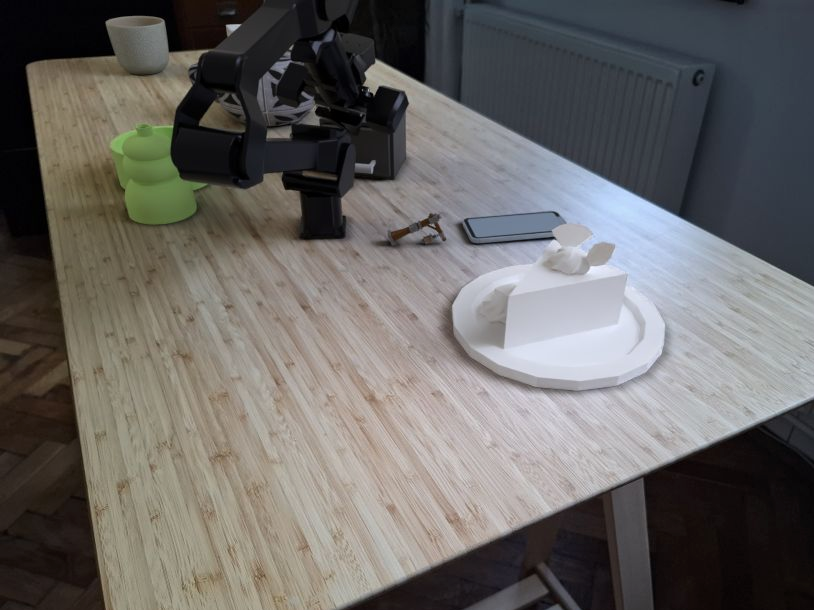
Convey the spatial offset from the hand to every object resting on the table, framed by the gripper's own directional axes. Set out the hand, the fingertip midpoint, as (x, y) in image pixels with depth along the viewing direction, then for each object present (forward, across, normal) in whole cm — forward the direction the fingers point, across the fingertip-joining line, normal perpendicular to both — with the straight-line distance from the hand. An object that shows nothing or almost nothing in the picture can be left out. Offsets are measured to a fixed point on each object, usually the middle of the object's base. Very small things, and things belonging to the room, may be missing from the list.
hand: (356, 133), depth 105 cm
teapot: (+25, +32, -13) cm, 43 cm away
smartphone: (+4, -28, +6) cm, 29 cm away
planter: (+38, +78, -22) cm, 89 cm away
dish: (-10, -40, +23) cm, 47 cm away
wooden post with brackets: (-1, -17, +15) cm, 22 cm away
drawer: (+11, +3, 0) cm, 12 cm away
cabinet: (+14, +3, -3) cm, 15 cm away
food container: (+2, +26, +18) cm, 32 cm away
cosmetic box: (+37, +52, -26) cm, 69 cm away
